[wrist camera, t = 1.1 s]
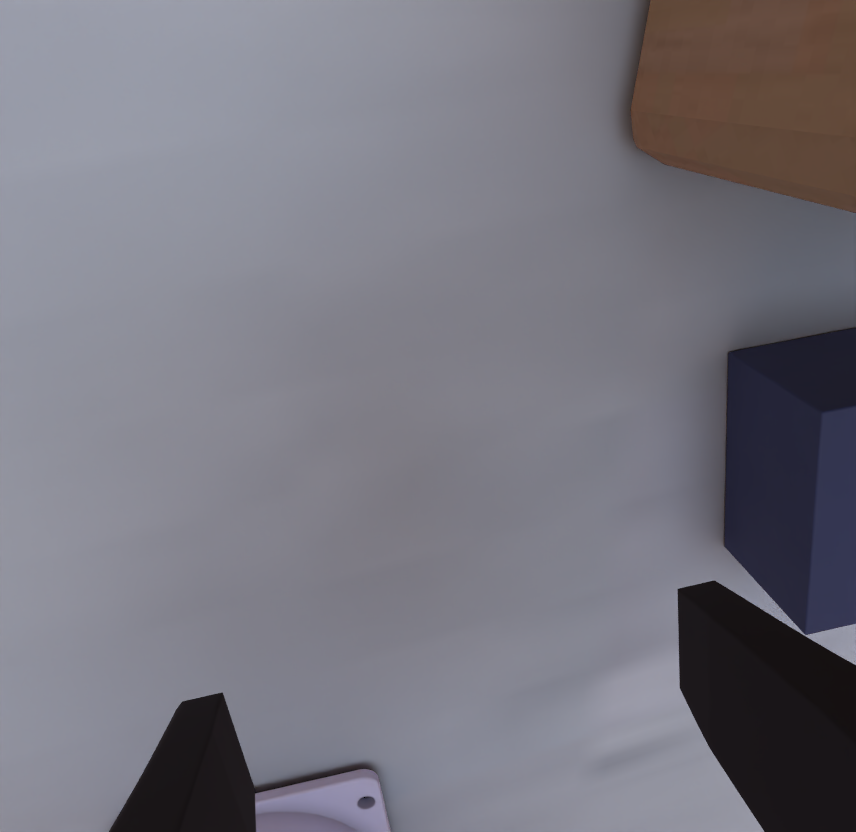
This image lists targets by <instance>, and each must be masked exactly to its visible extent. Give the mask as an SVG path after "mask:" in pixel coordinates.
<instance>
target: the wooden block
mask: <svg viewBox="0 0 856 832" xmlns="http://www.w3.org/2000/svg"><path fill="white" fill-rule="evenodd" d="M631 120H632V131H633V140H634V142H635V144H636V146H637V148H639V149H641V150H642V151H644V152H645V153H647V154H649V155H650V156H652V157H654V158H655V159H657V160H659V161H660V162H662V163H663V164H665V165H669V166H673V167H677V168H681V169H685V170H689V171H693V172H697V173H701V174H705V175H709V176H712V177H716V178H720V179H724V180H728V181H732V182H736V183H740V184H744V185H748V186H752V187H756V188H760V189H764V190H768V191H772V192H776V193H779V194H783V195H787V196H791V197H795V198H799V199H803V200H807V201H811V202H815V203H819V204H823V205H827V206H831V207H835V208H839V209H842V210H846V211H850V212H854V213H856V0H651V1H650V7H649V12H648V18H647V23H646V29H645V34H644V40H643V45H642V50H641V56H640V61H639V67H638V72H637V78H636V83H635V89H634V94H633V100H632V105H631Z"/></svg>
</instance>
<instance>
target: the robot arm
mask: <svg viewBox="0 0 856 832" xmlns="http://www.w3.org/2000/svg"><path fill="white" fill-rule="evenodd" d="M678 623H679V669H680V689H681V691H682V693H683V695H684V697H685V699H686V702H687V704H688V706H689V708H690V710H691V712H692V714H693V716H694V718H695V720H696V722H697V724H698V726H699V728H700V730H701V732H702V734H703V736H704V738H705V740H706V742H707V744H708V746H709V747H710V749H711V750H712V752H713V754H714V755H715V757H716V758H717V760H718V761H719V763H720V765H721V766H722V768H723V769H724V771H725V772H726V774H727V775H728V777H729V778H730V780H731V781H732V783H733V785H734V786H735V788H736V789H737V791H738V792H739V794H740V795H741V797H742V798H743V800H744V801H745V803H746V804H747V806H748V807H749V809H750V810H751V812H752V813H753V815H754V816H755V818H756V819H757V821H758V822H759V824H760V825H761V827H762V828H763V830H764V831H765V832H856V665H854V664H852V663H851V662H849V661H847V660H845V659H843V658H842V657H840V656H838V655H836V654H835V653H833V652H831V651H829V650H828V649H826V648H824V647H823V646H821V645H819V644H817V643H816V642H814V641H812V640H811V639H809V638H807V637H806V636H804V635H802V634H801V633H799V632H797V631H796V630H794V629H792V628H791V627H789V626H787V625H786V624H784V623H783V622H781V621H779V620H778V619H776V618H774V617H773V616H771V615H770V614H768V613H766V612H765V611H763V610H761V609H760V608H758V607H757V606H755V605H753V604H752V603H750V602H749V601H747V600H745V599H744V598H742V597H741V596H739V595H737V594H736V593H734V592H733V591H731V590H729V589H728V588H726V587H724V586H723V585H721V584H719V583H718V582H716V581H710V582H706V583H702V584H697V585H693V586H688V587H684V588H680V589H678ZM365 796H370V797H368V798H362V797H365ZM109 832H391V829H390V825H389V820H388V816H387V811H386V807H385V803H384V798H383V794H382V789H381V785H380V781H379V777H378V775H377V773H375V772H374V771H372V770H368V769H359V770H355V771H351V772H346V773H342V774H338V775H333V776H329V777H325V778H320V779H316V780H312V781H307V782H303V783H299V784H294V785H290V786H286V787H281V788H277V789H273V790H268V791H264V792H260V793H255V788H254V785H253V782H252V779H251V776H250V773H249V770H248V767H247V764H246V761H245V758H244V755H243V752H242V749H241V746H240V743H239V740H238V737H237V734H236V731H235V728H234V725H233V722H232V719H231V716H230V713H229V710H228V707H227V704H226V701H225V698H224V695H223V693H218V694H214V695H209V696H205V697H201V698H196V699H192V700H187V701H183V702H182V703H181V704H180V705H179V707H178V708H177V709H176V711H175V713H174V715H173V717H172V719H171V721H170V723H169V725H168V727H167V729H166V731H165V732H164V734H163V736H162V738H161V740H160V742H159V744H158V746H157V748H156V750H155V751H154V753H153V755H152V757H151V759H150V761H149V763H148V764H147V766H146V768H145V770H144V772H143V774H142V775H141V777H140V779H139V781H138V783H137V784H136V786H135V788H134V790H133V791H132V793H131V795H130V796H129V798H128V800H127V802H126V803H125V805H124V807H123V809H122V810H121V812H120V814H119V815H118V817H117V819H116V821H115V822H114V824H113V826H112V827H111V829H110V831H109Z"/></svg>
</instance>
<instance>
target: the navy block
mask: <svg viewBox="0 0 856 832" xmlns="http://www.w3.org/2000/svg"><path fill="white" fill-rule="evenodd" d="M725 547H726V549H727V550H728V551H729V552H730V553H731V554H732V555H733V556H734V557H735V558H736V559H737V561H738V562H739V563H740V564H741V565H742V566H743V567H744V568H745V569H746V570H747V572H748V573H749V574H750V575H751V576H752V577H753V578H754V579H755V580H756V581H757V583H758V584H759V585H760V586H761V587H762V588H763V589H764V590H765V591H766V592H767V593H768V595H769V596H770V597H771V598H772V599H773V600H774V601H775V602H776V603H777V604H778V606H779V607H780V608H781V609H782V610H783V611H784V612H785V613H786V614H787V615H788V617H789V618H790V619H791V620H792V621H793V622H794V623H795V624H796V625H797V626H798V627H799V629H800V630H801V631H802V632H803V633H804V634H806V635H808V634H812V633H816V632H821V631H825V630H830V629H834V628H838V627H843V626H847V625H852V624H856V328H852V329H847V330H842V331H837V332H832V333H826V334H821V335H816V336H811V337H806V338H800V339H795V340H790V341H785V342H780V343H774V344H769V345H764V346H759V347H754V348H748V349H743V350H738V351H733V352H729V354H728V401H727V450H726V498H725Z"/></svg>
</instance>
